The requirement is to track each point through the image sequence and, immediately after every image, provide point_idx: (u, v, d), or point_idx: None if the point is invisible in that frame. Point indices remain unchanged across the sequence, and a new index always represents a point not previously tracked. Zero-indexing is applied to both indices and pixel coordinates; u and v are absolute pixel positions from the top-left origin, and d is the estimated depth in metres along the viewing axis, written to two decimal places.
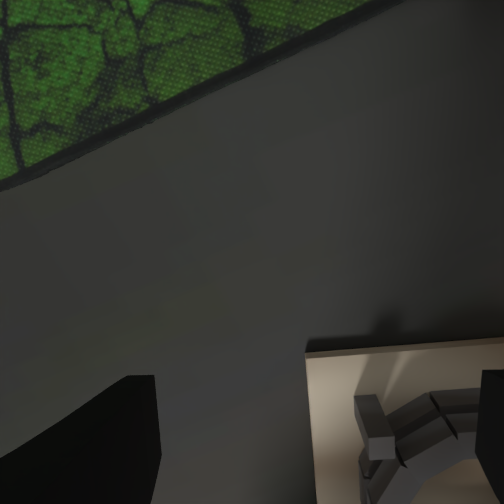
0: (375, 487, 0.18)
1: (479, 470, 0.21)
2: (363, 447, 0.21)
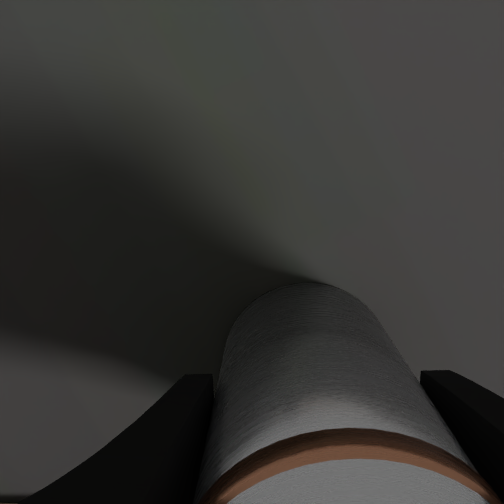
0: None
1: None
2: None
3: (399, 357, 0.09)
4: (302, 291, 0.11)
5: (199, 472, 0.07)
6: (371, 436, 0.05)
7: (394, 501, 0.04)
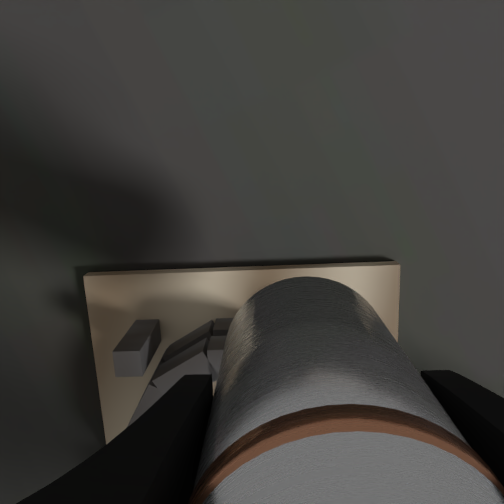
0: None
1: None
2: None
3: (399, 347, 0.09)
4: (304, 283, 0.11)
5: (201, 452, 0.07)
6: (373, 412, 0.06)
7: (395, 468, 0.05)
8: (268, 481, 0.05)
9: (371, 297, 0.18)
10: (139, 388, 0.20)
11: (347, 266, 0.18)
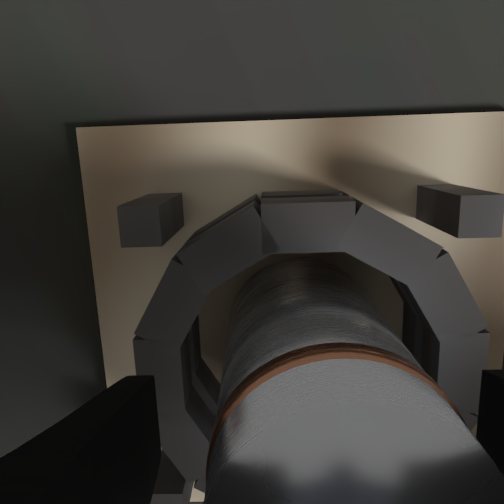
0: None
1: None
2: None
3: None
4: (301, 263, 0.13)
5: (221, 389, 0.09)
6: (358, 347, 0.07)
7: (373, 378, 0.06)
8: (282, 389, 0.07)
9: (484, 160, 0.13)
10: (151, 295, 0.14)
11: (451, 113, 0.13)
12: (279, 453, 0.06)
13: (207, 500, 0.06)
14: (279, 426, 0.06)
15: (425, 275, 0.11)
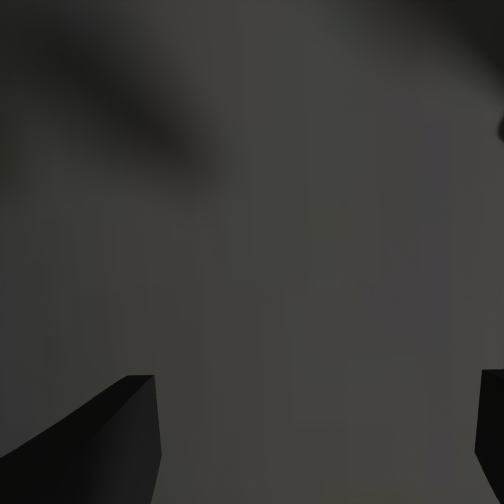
0: None
1: None
2: None
3: None
4: None
5: None
6: None
7: None
8: None
9: None
10: None
11: None
12: None
13: None
14: None
15: None
